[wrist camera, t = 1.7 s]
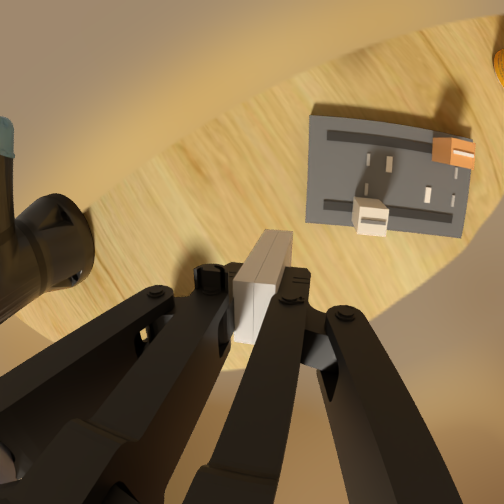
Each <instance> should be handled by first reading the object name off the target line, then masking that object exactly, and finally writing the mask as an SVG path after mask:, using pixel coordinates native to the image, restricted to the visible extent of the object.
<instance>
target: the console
mask: <svg viewBox="0 0 504 504" xmlns="http://www.w3.org/2000/svg"><path fill="white" fill-rule="evenodd" d="M433 138H456V139H460V140H464V141H468V142H472V143H473V140H472V139H468V138H464V137H460V136H456V135H452V134H447V133H442V132H438V131H433V130H428V129H422V128H417V127H411V126H405V125H399V124H393V123H386V122H378V121H370V120H362V119H352V118H342V117H330V116H315V115H309V155H308V181H307V202H306V219H305V223H317V224H329V225H341V226H352V227H354V225H353V223H352V210H353V199H354V197H361V198H371V199H379V200H380V201H381V202H382V203H383V204H384V205H385V206H386V207H387V208H388V209H389V215H388V223H387V230H393V231H402V232H412V233H421V234H429V235H438V236H446V237H454V238H461V236H462V231H463V226H464V220H465V214H466V207H467V200H468V193H469V184H470V174H471V169H468V168H463V167H459V166H454V165H449V164H444V163H439V162H434V161H432V147H433Z"/></svg>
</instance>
